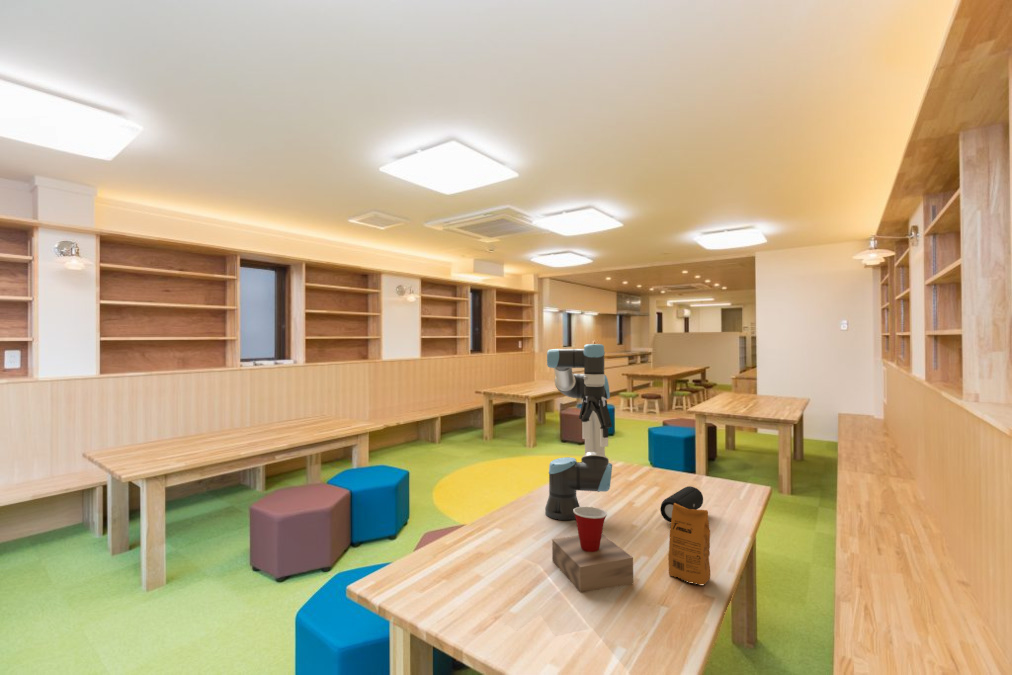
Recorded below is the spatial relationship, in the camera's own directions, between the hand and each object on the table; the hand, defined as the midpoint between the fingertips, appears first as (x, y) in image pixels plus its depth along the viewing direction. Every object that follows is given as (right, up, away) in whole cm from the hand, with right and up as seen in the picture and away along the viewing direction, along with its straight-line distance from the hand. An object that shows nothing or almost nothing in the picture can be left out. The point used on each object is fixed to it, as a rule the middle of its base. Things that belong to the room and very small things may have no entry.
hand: (594, 442), depth 169 cm
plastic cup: (-6, -29, -23) cm, 37 cm away
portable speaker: (+42, -37, +25) cm, 61 cm away
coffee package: (+25, -37, -26) cm, 51 cm away
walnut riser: (-6, -37, -23) cm, 44 cm away
